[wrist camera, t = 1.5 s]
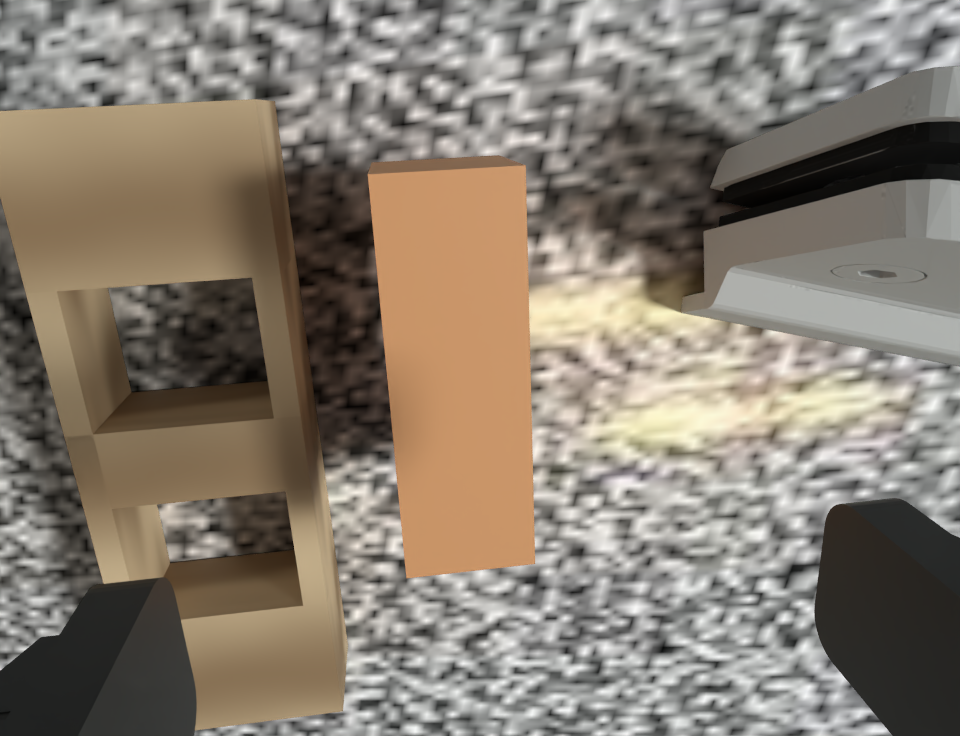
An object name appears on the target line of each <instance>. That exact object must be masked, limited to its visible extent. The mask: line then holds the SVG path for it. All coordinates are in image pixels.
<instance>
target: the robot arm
mask: <svg viewBox="0 0 960 736" xmlns="http://www.w3.org/2000/svg"><path fill="white" fill-rule="evenodd" d="M815 623H816V628H817V632H818V635H819V638H820V641H821V643H822V646H823V648H824V650H825V652H826V654H827V655H828V657H829V658H830V660H831V661H832V663H833V664H834V665H835V666H836V667H837V669H838V670H839V671H840V672H841V673H842V675H843V676H844V677H845V678H846V680H847V681H848V682H849V683H850V684H851V686H852V687H853V688H854V689H855V690H856V692H857V693H858V694H859V695H860V697H861V698H862V699H863V700H864V701H865V703H866V704H867V705H868V706H869V707H870V709H871V710H872V711H873V712H874V713H875V715H876V716H877V717H878V718H879V720H880V721H881V722H882V723H883V724H884V726H885V727H886V728H887V729H888V730H889V732H890V733H891V734H892V735H893V736H960V538H959V537H957V536H954V535H952V534H950V533H949V532H947V531H946V530H945V529H943V528H942V527H940V526H939V525H938V524H936V523H935V522H934V521H932V520H931V519H930V518H928V517H927V516H925V515H924V514H923V513H921V512H920V511H919V510H917V509H916V508H914V507H913V506H912V505H910V504H909V503H907V502H906V501H904V500H901V499H897V498H891V499H882V500H873V501H864V502H855V503H846V504H839V505H836V506H834V507H833V508H832V509H831V510H830V511H829V513H828V515H827V518H826V522H825V528H824V536H823V544H822V552H821V560H820V568H819V576H818V584H817V592H816V600H815ZM196 712H197V699H196V687H195V681H194V677H193V672H192V668H191V663H190V659H189V654H188V650H187V646H186V641H185V637H184V632H183V628H182V623H181V619H180V614H179V610H178V605H177V601H176V596H175V593H174V589H173V587H172V585H171V583H170V581H169V580H168V579H167V578H165V577H161V578H152V579H143V580H134V581H124V582H115V583H106V584H97V585H94V586H93V587H91V588H90V589H89V590H88V592H87V593H86V595H85V596H84V598H83V599H82V601H81V602H80V604H79V605H78V607H77V609H76V610H75V612H74V613H73V615H72V616H71V618H70V620H69V621H68V623H67V624H66V626H65V627H64V629H63V630H62V632H61V634H60V635H56V636H48V637H41V638H39V639H38V640H37V641H36V642H35V643H33V644H32V645H31V646H30V647H29V648H27V649H26V650H25V651H24V652H23V653H21V654H20V655H19V656H18V657H17V658H15V659H14V660H13V661H12V662H10V663H9V664H8V665H7V666H6V667H4V668H3V669H2V670H1V671H0V736H194V732H195V725H196Z"/></svg>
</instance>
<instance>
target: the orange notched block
mask: <svg viewBox="0 0 960 736" xmlns="http://www.w3.org/2000/svg"><path fill="white" fill-rule="evenodd" d="M368 183H369V193H370V204H371V214H372V224H373V235H374V245H375V255H376V266H377V276H378V287H379V297H380V307H381V318H382V328H383V339H384V349H385V359H386V370H387V380H388V391H389V401H390V411H391V422H392V432H393V442H394V453H395V463H396V474H397V484H398V494H399V505H400V515H401V526H402V536H403V546H404V557H405V567H406V578H413V577H422V576H431V575H440V574H449V573H458V572H466V571H475V570H484V569H493V568H502V567H511V566H520V565H528V564H535V541H534V499H533V457H532V415H531V373H530V331H529V289H528V247H527V205H526V165H523V164H521V163H518V162H515V161H512V160H510V159H507V158H504V157H502V156H499V155H498V156H480V157H462V158H444V159H427V160H409V161H391V162H373V163H371V166H370V169H369V172H368Z"/></svg>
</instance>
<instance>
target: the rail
mask: <svg viewBox="0 0 960 736" xmlns="http://www.w3.org/2000/svg"><path fill="white" fill-rule="evenodd" d="M0 199H1V202H2V206H3V210H4V214H5V217H6V221H7V225H8V228H9V232H10V236H11V240H12V243H13V247H14V251H15V255H16V258H17V262H18V266H19V270H20V273H21V277H22V281H23V285H24V288H25V292H26V296H27V300H28V303H29V307H30V311H31V314H32V318H33V322H34V326H35V329H36V333H37V337H38V341H39V344H40V348H41V352H42V356H43V359H44V363H45V367H46V371H47V374H48V378H49V382H50V385H51V389H52V393H53V397H54V400H55V404H56V408H57V412H58V415H59V419H60V423H61V427H62V430H63V434H64V438H65V442H66V445H67V449H68V453H69V457H70V460H71V464H72V468H73V471H74V475H75V479H76V483H77V486H78V490H79V494H80V498H81V501H82V505H83V509H84V513H85V516H86V520H87V524H88V528H89V531H90V535H91V539H92V542H93V546H94V550H95V554H96V557H97V561H98V565H99V569H100V572H101V576H102V580H103V584H106V583H115V582H124V581H134V580H143V579H152V578H161V577H165V578H167V579H168V580H169V581H170V583H171V585H172V587H173V589H174V593H175V596H176V601H177V605H178V610H179V614H180V619H181V623H182V628H183V632H184V637H185V641H186V646H187V650H188V654H189V659H190V663H191V668H192V672H193V677H194V681H195V687H196V699H197V712H196V725H195V730H201V729H209V728H217V727H224V726H232V725H240V724H248V723H255V722H263V721H271V720H278V719H286V718H294V717H302V716H309V715H317V714H325V713H332V712H340V711H343V702H344V689H345V676H346V662H347V649H348V643H347V635H346V628H345V620H344V613H343V605H342V598H341V590H340V583H339V576H338V568H337V561H336V553H335V546H334V538H333V531H332V523H331V516H330V509H329V501H328V494H327V486H326V479H325V471H324V464H323V456H322V449H321V442H320V434H319V427H318V419H317V412H316V404H315V397H314V389H313V382H312V375H311V367H310V360H309V352H308V345H307V337H306V330H305V322H304V315H303V308H302V300H301V293H300V285H299V278H298V270H297V263H296V255H295V248H294V241H293V233H292V226H291V218H290V211H289V203H288V196H287V188H286V181H285V174H284V166H283V159H282V151H281V144H280V136H279V129H278V121H277V114H276V107H275V101H266V100H257V99H252V100H231V101H209V102H188V103H166V104H145V105H123V106H101V107H80V108H58V109H37V110H15V111H0ZM239 278H252V282H253V288H254V295H255V301H256V308H257V314H258V320H259V327H260V333H261V340H262V346H263V352H264V359H265V365H266V371H267V378H268V381H262V382H250V383H238V384H226V385H214V386H202V387H190V388H179V389H167V390H155V391H143V392H131V388H130V384H129V380H128V375H127V371H126V366H125V362H124V358H123V353H122V349H121V344H120V340H119V336H118V331H117V327H116V322H115V318H114V314H113V309H112V305H111V300H110V296H109V292H108V288H111V287H125V286H140V285H154V284H168V283H182V282H197V281H211V280H225V279H239ZM276 492H285V493H286V499H287V505H288V512H289V518H290V524H291V531H292V537H293V544H294V550H288V551H279V552H269V553H260V554H250V555H241V556H232V557H222V558H213V559H204V560H194V561H185V562H176V563H170V560H169V556H168V551H167V547H166V542H165V538H164V534H163V529H162V525H161V520H160V516H159V512H158V507H157V504H165V503H175V502H185V501H195V500H205V499H215V498H225V497H235V496H246V495H256V494H266V493H276Z"/></svg>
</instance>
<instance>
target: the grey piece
mask: <svg viewBox="0 0 960 736" xmlns="http://www.w3.org/2000/svg"><path fill="white" fill-rule="evenodd" d="M711 188H713V189H717V190H721V191H724V193H723V200H722V202H726V203H730V204H735V205H739V206H743V207H748V208H750V209H746V210H743V211H739V212H736V213H732V214H729V215H725V216H722V217H720V220H719V226H718V228H714V229H710V230H706V231H704V289H705V291H704V292H702V293H697V294H693V295H689V296H684V297H683V299H682V307H681V313H685V314H690V315H696V316H701V317H706V318H711V319H716V320H722V321H727V322H732V323H737V324H742V325H747V326H753V327H758V328H763V329H768V330H773V331H779V332H784V333H789V334H794V335H799V336H805V337H810V338H815V339H820V340H825V341H830V342H836V343H841V344H846V345H851V346H856V347H862V348H867V349H872V350H877V351H882V352H888V353H893V354H898V355H903V356H908V357H914V358H919V359H924V360H929V361H934V362H939V363H945V364H950V365H955V366H960V66H951V67H936V68H930V69H925V70H920V71H914V72H911V73H908V74H906V75H903V76H901V77H899V78H896V79H894V80H892V81H889V82H887V83H884V84H882V85H880V86H877V87H875V88H872V89H870V90H868V91H865V92H863V93H861V94H858V95H856V96H853V97H851V98H849V99H846V100H844V101H841V102H839V103H837V104H834V105H832V106H830V107H827V108H825V109H822V110H820V111H818V112H815V113H813V114H810V115H808V116H806V117H803V118H801V119H799V120H796V121H794V122H791V123H789V124H787V125H784V126H782V127H780V128H777V129H775V130H772V131H770V132H768V133H765V134H763V135H760V136H758V137H756V138H753V139H751V140H749V141H746V142H744V143H741V144H739V145H737V146H734V147H732V148H729V149H727V150H726V152H725V154H724V156H723V157H722V159H721V161H720V163H719V165H718V168H717V171H716V173H715V176H714V179H713V181H712V184H711Z"/></svg>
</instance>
